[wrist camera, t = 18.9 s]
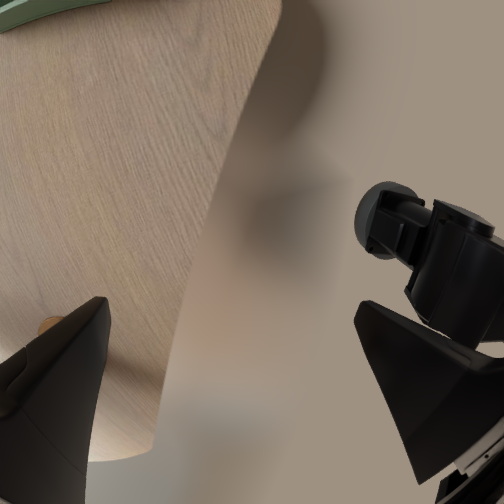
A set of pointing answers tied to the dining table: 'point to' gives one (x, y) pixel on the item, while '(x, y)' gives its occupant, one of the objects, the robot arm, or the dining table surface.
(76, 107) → the dining table surface
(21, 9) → the box
